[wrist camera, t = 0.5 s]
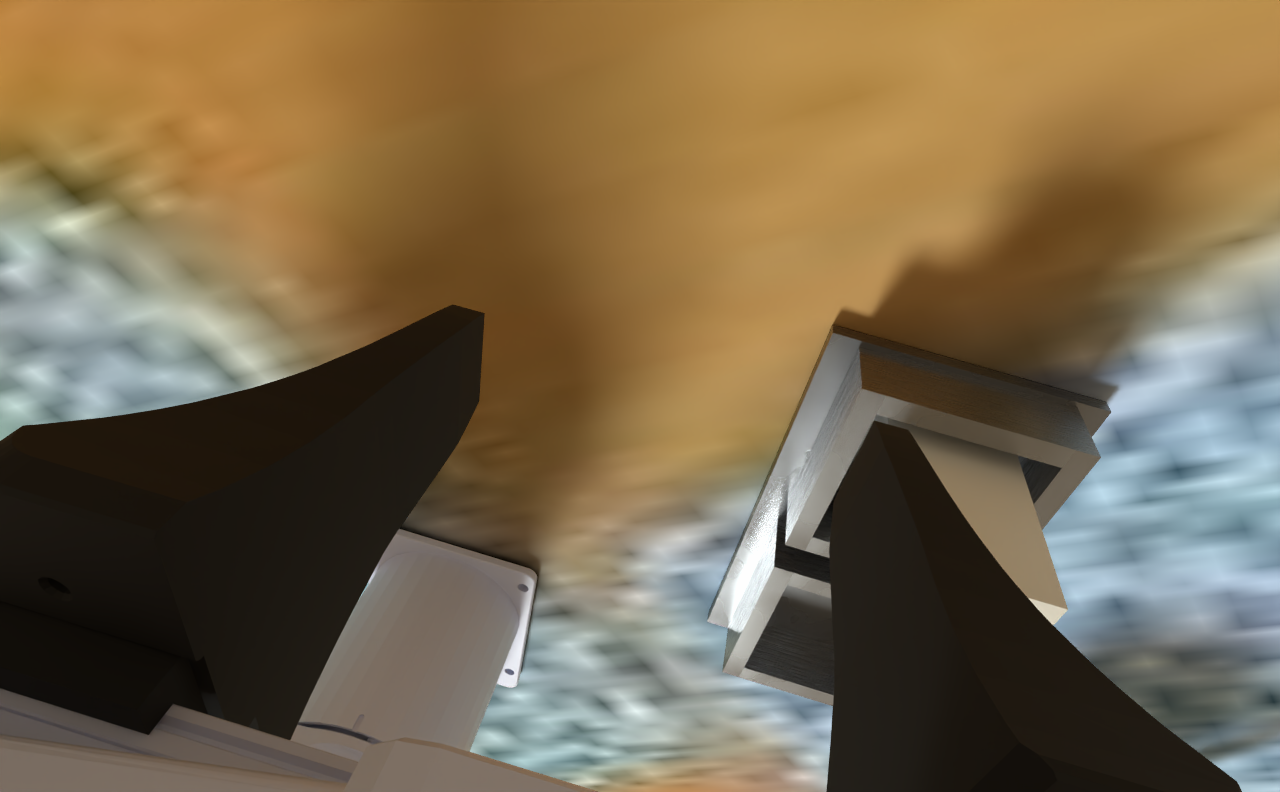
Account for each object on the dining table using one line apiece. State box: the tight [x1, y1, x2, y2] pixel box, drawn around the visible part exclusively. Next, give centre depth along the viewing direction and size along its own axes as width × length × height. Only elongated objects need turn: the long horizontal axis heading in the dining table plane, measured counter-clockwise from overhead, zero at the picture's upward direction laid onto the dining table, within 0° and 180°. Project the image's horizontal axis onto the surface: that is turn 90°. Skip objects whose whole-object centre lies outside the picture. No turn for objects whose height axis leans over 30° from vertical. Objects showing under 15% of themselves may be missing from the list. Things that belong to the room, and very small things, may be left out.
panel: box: [707, 325, 1111, 706], centre depth 26 cm, size 15×9×3 cm, turn 169°
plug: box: [839, 415, 1068, 625], centre depth 21 cm, size 4×4×8 cm
